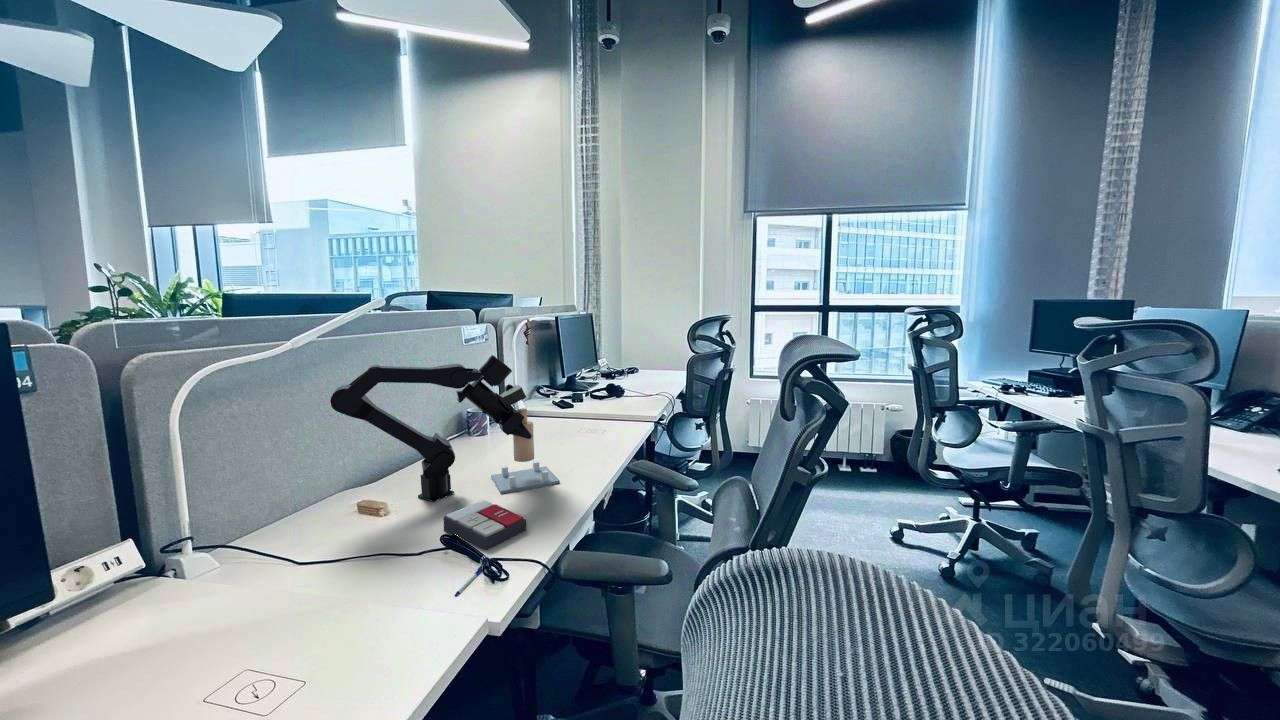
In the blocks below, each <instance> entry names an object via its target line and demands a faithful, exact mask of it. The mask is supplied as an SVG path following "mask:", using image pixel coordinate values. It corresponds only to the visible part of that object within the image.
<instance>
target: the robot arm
mask: <svg viewBox="0 0 1280 720" xmlns="http://www.w3.org/2000/svg"><path fill="white" fill-rule="evenodd" d="M512 372H513V370H512V369H511V368H510V367H509V366H508V365H507V364H506V363H504V362H502V360H500V359H498V358H497V357H496V356H495V355H493V354H491V355H490V356H489V357H488V359H487V360H486V361H485V363H484V364H482V365H481V367H480V368H479V369H478V368H475V367H474V368H469V367H468V368H467V367H465V366H464V365H463V364H461V363H450V364H449V363H448V364H443V365H437V366H430V367H423V366H422V367H419V366H395V365H394V366H393V365H392V366H391V365H390V366H389V365H385V366H384V365H379V364H374V365H373V364H372V365H371V366H369V368H367V370H366V371H364V372H363V373H362V374H360V375H359V376H358V377H356V378H355V379H354V380H353V381H351V382H350V383H349V384H343V385H340V386H339V387H337V388H336V389H335V390H334V392H333V393H332V395H331V397H330V406H331V408H332V409H333V410H334V411H335V412H337V413H340V414H341V415H345V416H348V417H350V418H354V419H358V420H362V421H365V422H367V423H369V424H370V425H372V426H374V427H376V428H378V429H379V430H381V431H383V432H384V433H386V434H388V435H390V436H391V437H393V438H395V439H397V440H398V441H400V442H402V443H403V444H405V445H407V446H409V447H410V448H412V449H413V450H415V451H416V452H418V453H419V454H420V456H422V458H423V460H422V461H421V468H422V474H420V487H421V489H420V490H421V493H420V494H418V495H417V498H419V499H422V500H427V501H429V502H433V503H434V502H435V503H436V502H437V501H439V500H442V499H444V498H446V497H449V496H452V495H454V494H455V491H454V490H451V489H452V483H451V474H450V470H449V468H451V467H452V466H453V465H454V463H455V461H456V455H455V452H454V448H453V447H452V445H451V443H450V440H449V439H446V438H443V437H442V436H441V435H440V434H438V433H437V432H435V433H434V434H433V436H430V435H426V434H424V433H423V432H420V431H419V430H417V429H415V428H414V427H412V426H410V425H408V424H407V423H405V422H403V421H402V420H401V419H398V418H397V417H395V416H394V415H392V414H390V413H389V412H387V411H385V410H384V409H382V408H380V407H379V406H377V405H376V404H375V403H374V402H373V401H372V400H370V398H369V397H368V396H367V395H366V394H368V392H371V390H372V389H373V388H374V387H375V386H377V385H378V384H379V383H387V384H388V383H390V384H391V383H395V384H399V383H400V384H431V385H437V386H441V387H446V388H450V389H456V396H457V397H456V398H457V399H456V400H457V401H458V403H459V404H460V403H462V402H463V401H464V400H465V399H467V400H468V401H469V402H470V403H472V404H473V406H475V407H477V408H478V409H479V410H480V412H482V413H483V414H485V415H486V416H488V418H490V419H491V420H492V421H493V422H494V423H495V424H497V425H499V429H500V430H501V431H502V432H503V433H504V434H505V435H507V436H509V435H512V436H513V435H516V436H520V437H523V438H527V439H531V437H532V435H531V434H530V432H529V431H528V430H527V429H526V427H525V426H524V425H523V423H522V420H523V419H524V416H523V415H522V414H520V413H519V412H518V409H515V408H514V406H513V405H515V404H516V403H518V402H520V401H523V400H525V399H527V395H526V393H525V391H524V388H523V387H522V386H520V385H519V384H518V385H517V384H516V385H512V384H510V383H508V384H506V385H505V386H504V391H503V392H502V393H501V394H499V393H498V392H494V390H492V389H491V388H493V387H496V386H497V387H499V386H500V385H501V384H502V383H503V382H504V381H505V380H506V378H507V377H508V376H510V374H511V373H512ZM483 381H484V382H486V383H487V385H489V386H490V387H491V388H490V387H489V386H487V385H486V384H485V383H484V382H483ZM457 389H459V390H457ZM460 389H462V390H460Z"/></svg>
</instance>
